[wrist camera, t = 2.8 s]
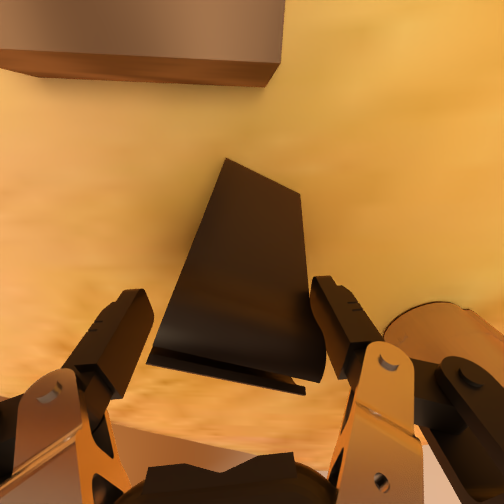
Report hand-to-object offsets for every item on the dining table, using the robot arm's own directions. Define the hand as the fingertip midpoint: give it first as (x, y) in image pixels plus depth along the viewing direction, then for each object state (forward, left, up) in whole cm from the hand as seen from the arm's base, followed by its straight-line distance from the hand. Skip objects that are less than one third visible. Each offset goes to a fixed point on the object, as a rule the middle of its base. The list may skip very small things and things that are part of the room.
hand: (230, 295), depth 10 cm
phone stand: (0, 0, -9) cm, 8 cm away
